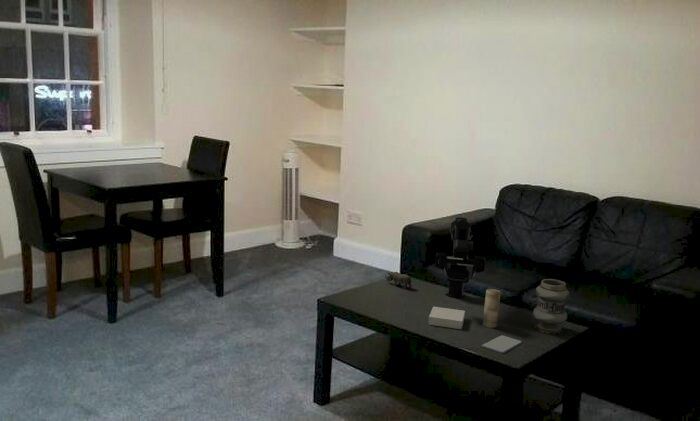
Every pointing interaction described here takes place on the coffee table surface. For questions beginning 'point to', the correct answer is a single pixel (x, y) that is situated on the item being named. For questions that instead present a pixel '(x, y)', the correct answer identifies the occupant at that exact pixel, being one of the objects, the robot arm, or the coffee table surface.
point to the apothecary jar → (551, 305)
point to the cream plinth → (446, 317)
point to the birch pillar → (491, 308)
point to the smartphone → (501, 344)
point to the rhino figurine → (399, 279)
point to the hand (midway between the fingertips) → (459, 276)
